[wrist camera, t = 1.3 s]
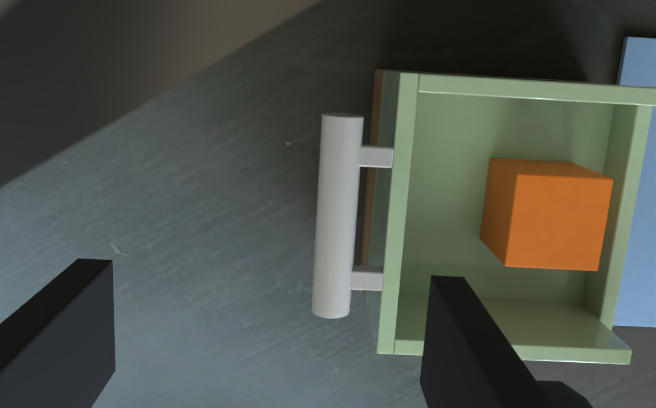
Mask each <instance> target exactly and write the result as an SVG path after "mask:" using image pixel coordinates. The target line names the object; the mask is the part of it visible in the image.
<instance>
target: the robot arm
mask: <svg viewBox="0 0 656 408" xmlns="http://www.w3.org/2000/svg"><path fill="white" fill-rule="evenodd" d="M114 372H115V335H114V299H113V263H112V260H99V259H77V260H76V261H75V262H74V263H72V264H71V265H70V266H69V267H68V268H66V269H65V270H64V271H63V272H62V273H60V274H59V275H58V276H57V277H56V278H54V279H53V280H52V281H51V282H50V283H49V284H47V285H46V286H45V287H44V288H43V289H41V290H40V291H39V292H38V293H37V294H35V295H34V296H33V297H32V298H31V299H29V300H28V301H27V302H26V303H25V304H23V305H22V306H21V307H20V308H19V309H18V310H16V311H15V312H14V313H13V314H12V315H10V316H9V317H8V318H7V319H6V320H4V321H3V322H2V323H1V324H0V408H91V407H92V406H93V404H94V403H95V401H96V400H97V398H98V396H99V395H100V393H101V392H102V390H103V389H104V387H105V386H106V384H107V382H108V381H109V379H110V378H111V376H112V375H113V373H114ZM420 385H421V388H422V391H423V394H424V397H425V400H426V403H427V406H428V408H593V407H592V406H591V404H590V403H589V402H588V401H587V399H586V398H585V397H583V396H582V395H580V394H579V393H577V392H576V391H574V390H573V389H571V388H570V387H569V386H567V385H566V384H564V383H563V382H560V381H536V380H535V379H534V377H533V376H532V374H531V373H530V372H529V370H528V369H527V367H526V366H525V364H524V363H523V361H522V360H521V359H520V357H519V356H518V354H517V353H516V351H515V350H514V348H513V347H512V346H511V344H510V343H509V341H508V340H507V338H506V337H505V336H504V334H503V333H502V331H501V330H500V328H499V327H498V325H497V324H496V323H495V321H494V320H493V318H492V317H491V315H490V314H489V312H488V311H487V310H486V308H485V307H484V305H483V304H482V302H481V301H480V299H479V298H478V297H477V295H476V294H475V292H474V291H473V289H472V288H471V286H470V285H469V284H468V282H467V281H466V279H465V278H464V277H457V276H436V275H431V281H430V290H429V300H428V309H427V319H426V328H425V338H424V347H423V357H422V366H421V376H420Z"/></svg>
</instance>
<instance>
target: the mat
mask: <svg viewBox="0 0 656 408" xmlns="http://www.w3.org/2000/svg"><path fill="white" fill-rule="evenodd" d="M616 84H626V85H639V86H652V87H656V38H642V37H624V41H623V47H622V53H621V59H620V65H619V70H618V76H617V82H616ZM613 325H622V326H644V327H656V106H653V109H652V115H651V120H650V125H649V131H648V136H647V142H646V147H645V152H644V158H643V163H642V169H641V174H640V179H639V185H638V190H637V196H636V201H635V207H634V212H633V217H632V223H631V228H630V234H629V239H628V244H627V250H626V255H625V261H624V266H623V271H622V277H621V282H620V288H619V293H618V299H617V304H616V309H615V315H614V320H613Z"/></svg>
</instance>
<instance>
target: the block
mask: <svg viewBox="0 0 656 408" xmlns="http://www.w3.org/2000/svg"><path fill="white" fill-rule="evenodd" d="M612 186H613V179H612V178H610V177H607V176H605V175H602V174H600V173H597V172H595V171H592V170H590V169H587V168H585V167H582V166H580V165H577V164H575V163H572V162H555V161H537V160H519V159H501V158H490V159H489V166H488V174H487V182H486V190H485V198H484V206H483V215H482V223H481V231H480V240H481V241H482V242H483V243H484V244H485V245H486V246H487V247H488V249H489V250H490V251H491V252H492V253H493V254H494V255H495V256H496V257H497V258H498V259H499V260H500V262H501V263H502V264H503V265H504V266H506V267H524V268H544V269H565V270H585V271H597V270H598V266H599V260H600V254H601V249H602V243H603V237H604V232H605V226H606V220H607V214H608V209H609V203H610V197H611V191H612Z"/></svg>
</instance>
